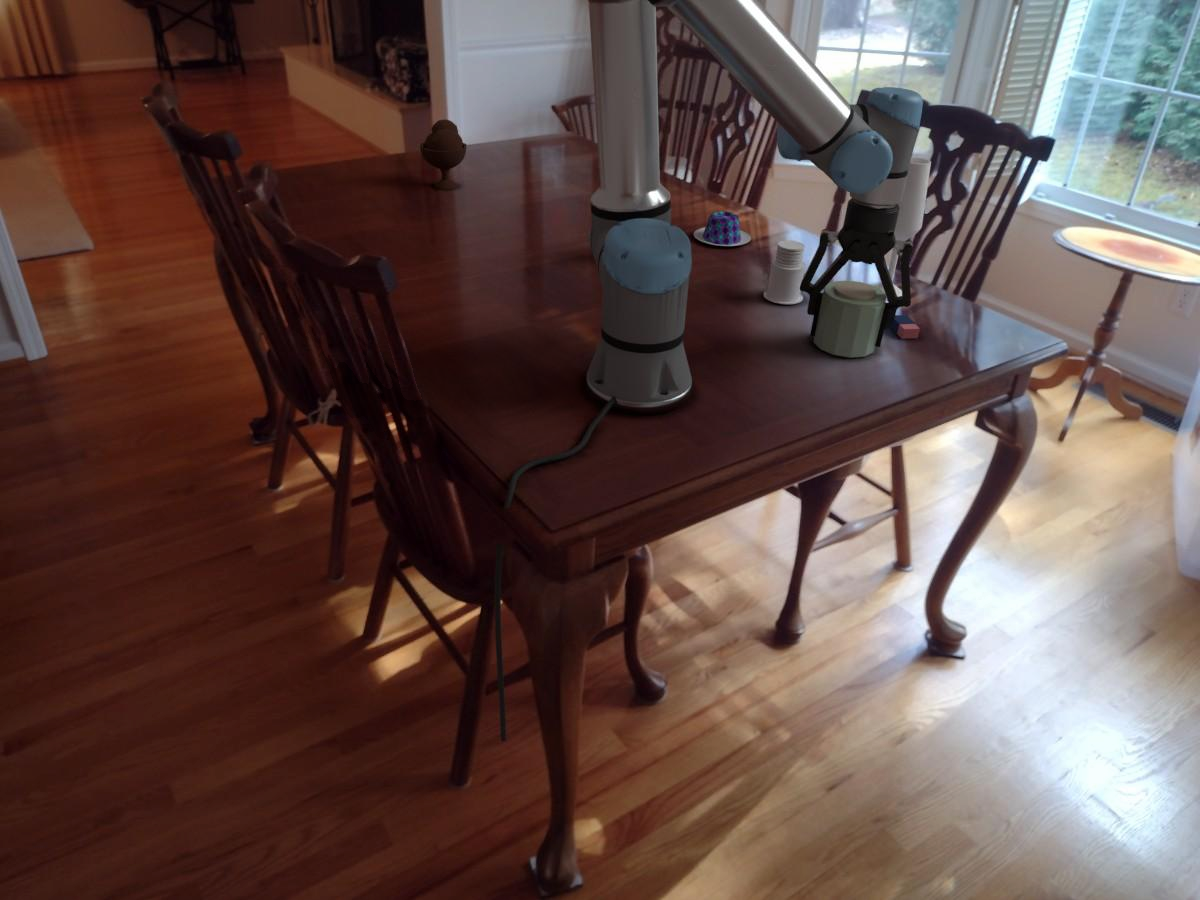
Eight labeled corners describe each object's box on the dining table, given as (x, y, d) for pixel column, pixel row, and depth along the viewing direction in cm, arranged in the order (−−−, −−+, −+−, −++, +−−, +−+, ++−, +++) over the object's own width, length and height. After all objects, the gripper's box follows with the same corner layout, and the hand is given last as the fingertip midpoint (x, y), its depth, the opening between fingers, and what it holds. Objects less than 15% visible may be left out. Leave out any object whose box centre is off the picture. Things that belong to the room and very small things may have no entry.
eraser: (917, 338, 145) (920, 327, 144) (901, 338, 144) (904, 328, 143) (903, 324, 149) (906, 314, 148) (887, 324, 149) (890, 314, 148)
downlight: (770, 307, 153) (779, 253, 148) (754, 292, 159) (761, 239, 154) (811, 304, 155) (821, 250, 150) (794, 289, 161) (802, 236, 155)
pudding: (723, 226, 190) (725, 202, 187) (762, 242, 182) (765, 218, 179) (681, 236, 183) (683, 211, 181) (720, 253, 175) (723, 228, 173)
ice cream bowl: (417, 182, 210) (412, 117, 202) (461, 178, 214) (458, 114, 206) (429, 194, 202) (424, 127, 194) (475, 190, 206) (472, 124, 198)
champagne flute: (860, 287, 163) (888, 156, 150) (890, 283, 165) (920, 154, 152) (882, 301, 157) (913, 166, 144) (912, 297, 160) (945, 164, 146)
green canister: (873, 361, 136) (886, 305, 131) (811, 351, 138) (822, 295, 133) (875, 336, 144) (887, 282, 139) (816, 327, 146) (827, 274, 141)
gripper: (952, 203, 129) (916, 339, 141) (801, 185, 134) (779, 318, 146) (954, 218, 123) (916, 359, 135) (796, 198, 128) (773, 336, 140)
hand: (845, 338), depth 141 cm, fingers closed on green canister, 10 cm apart
